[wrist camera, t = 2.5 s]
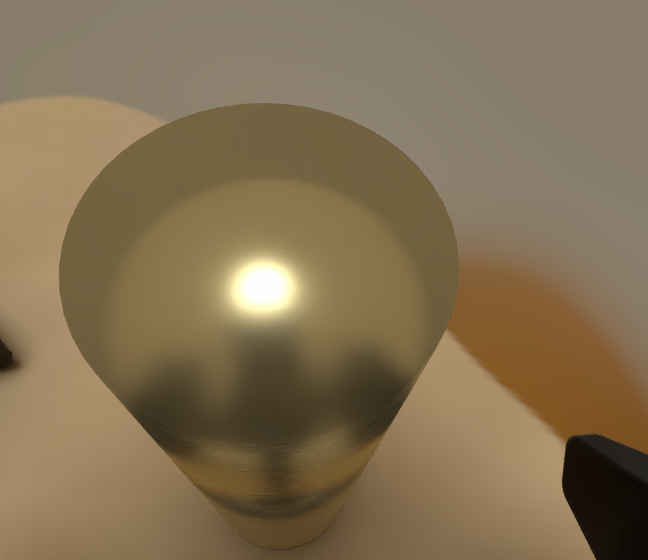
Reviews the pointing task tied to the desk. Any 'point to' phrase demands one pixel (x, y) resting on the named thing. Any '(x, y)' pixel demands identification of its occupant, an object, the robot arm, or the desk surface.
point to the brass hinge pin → (261, 302)
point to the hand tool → (5, 355)
